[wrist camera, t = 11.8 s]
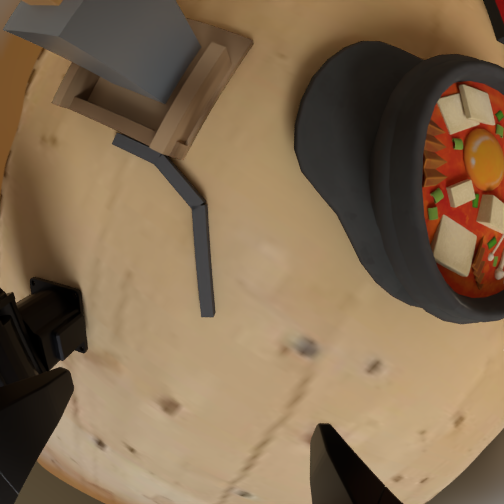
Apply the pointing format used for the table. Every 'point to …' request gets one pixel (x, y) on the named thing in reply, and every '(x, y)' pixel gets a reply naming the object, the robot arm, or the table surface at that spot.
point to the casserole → (413, 172)
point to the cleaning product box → (496, 17)
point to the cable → (197, 214)
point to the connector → (114, 39)
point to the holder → (151, 111)
